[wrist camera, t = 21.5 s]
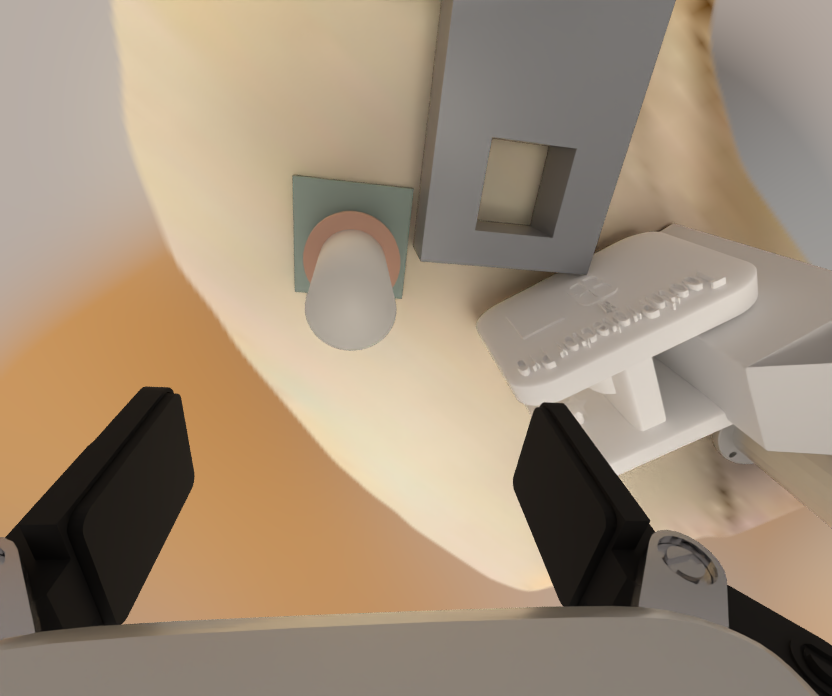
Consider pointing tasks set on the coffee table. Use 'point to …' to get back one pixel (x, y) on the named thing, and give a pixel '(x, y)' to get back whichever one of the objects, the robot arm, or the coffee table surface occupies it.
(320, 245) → the plug
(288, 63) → the coffee table surface
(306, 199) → the mat
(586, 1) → the grey block with hole
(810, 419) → the milk carton
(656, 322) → the cable organizer
